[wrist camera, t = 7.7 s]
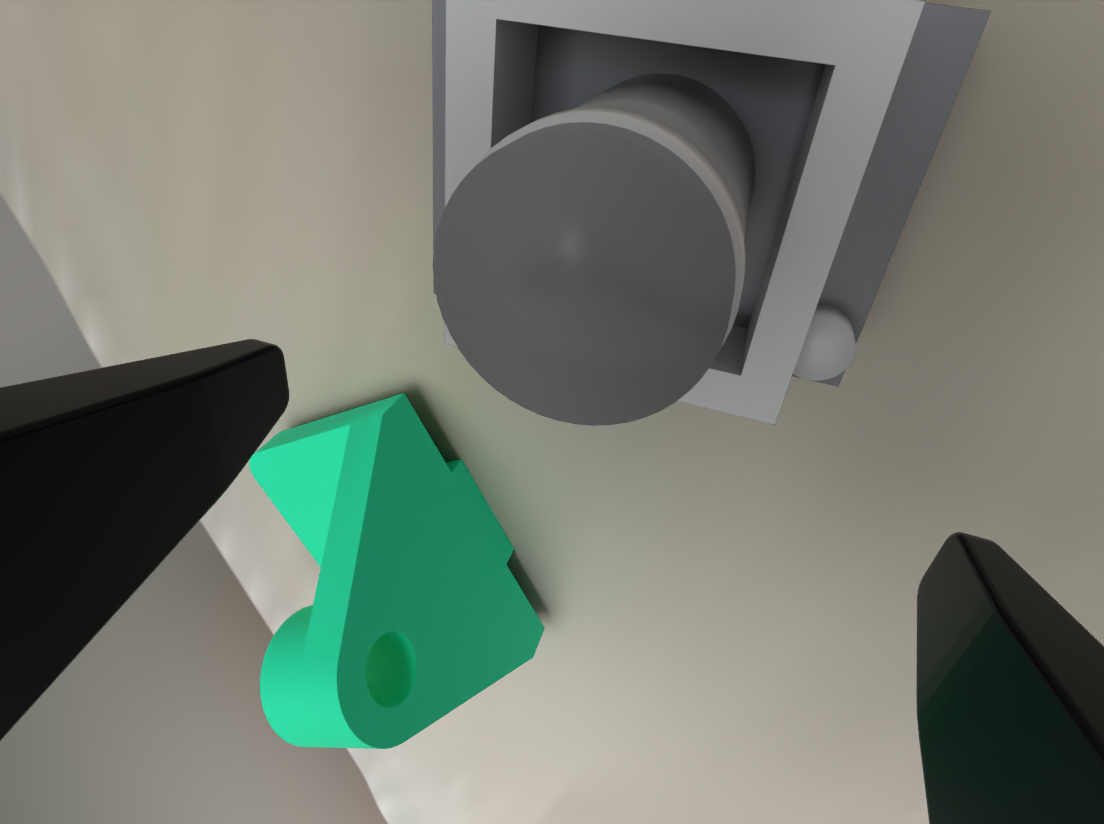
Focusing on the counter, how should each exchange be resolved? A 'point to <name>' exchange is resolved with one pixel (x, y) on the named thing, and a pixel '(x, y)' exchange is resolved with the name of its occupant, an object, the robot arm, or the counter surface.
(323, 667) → the camera mount
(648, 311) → the lens
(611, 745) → the counter surface
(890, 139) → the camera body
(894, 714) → the counter surface
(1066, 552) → the counter surface
